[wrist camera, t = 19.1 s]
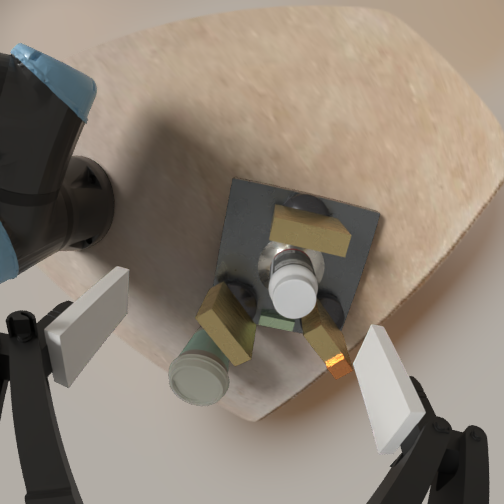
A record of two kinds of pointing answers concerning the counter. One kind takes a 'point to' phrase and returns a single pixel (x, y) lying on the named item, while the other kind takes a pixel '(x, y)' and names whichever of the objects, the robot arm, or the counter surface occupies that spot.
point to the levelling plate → (263, 250)
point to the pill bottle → (292, 283)
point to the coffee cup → (200, 371)
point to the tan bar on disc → (328, 334)
